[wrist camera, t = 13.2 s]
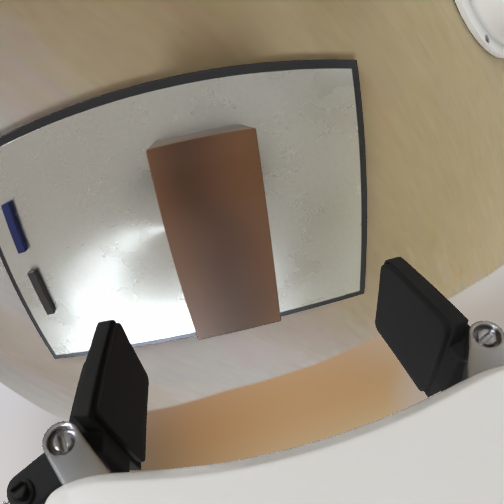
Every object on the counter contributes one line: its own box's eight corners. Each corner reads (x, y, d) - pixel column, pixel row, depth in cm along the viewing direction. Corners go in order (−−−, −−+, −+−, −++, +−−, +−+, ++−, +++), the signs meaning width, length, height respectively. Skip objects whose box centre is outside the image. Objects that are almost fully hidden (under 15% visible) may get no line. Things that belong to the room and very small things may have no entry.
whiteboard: (353, 60, 19) (358, 59, 18) (362, 290, 28) (365, 295, 27) (-29, 153, 16) (-35, 155, 15) (56, 355, 25) (54, 361, 24)
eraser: (239, 123, 19) (256, 127, 15) (263, 282, 25) (281, 321, 20) (155, 140, 18) (145, 150, 14) (194, 297, 24) (198, 340, 20)
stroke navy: (10, 200, 18) (7, 202, 17) (28, 249, 19) (25, 252, 19) (3, 203, 17) (0, 205, 17) (20, 251, 19) (18, 254, 19)
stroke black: (36, 268, 20) (34, 271, 20) (56, 310, 22) (54, 313, 22) (29, 270, 20) (26, 273, 20) (49, 311, 22) (47, 315, 21)
